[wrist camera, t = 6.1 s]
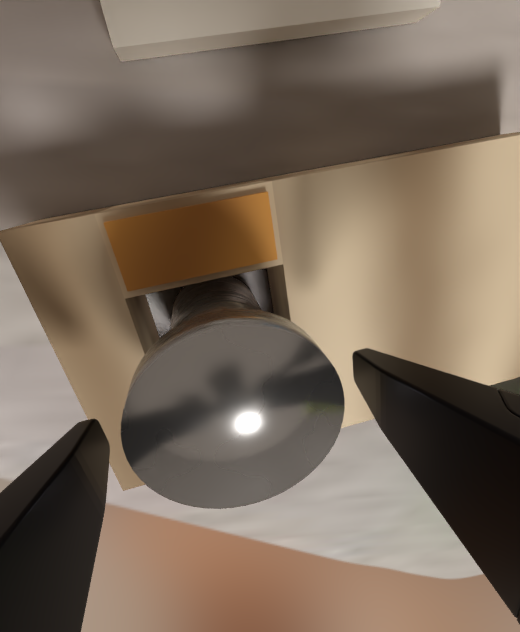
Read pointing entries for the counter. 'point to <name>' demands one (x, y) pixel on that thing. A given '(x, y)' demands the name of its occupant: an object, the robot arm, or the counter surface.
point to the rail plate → (296, 268)
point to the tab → (243, 22)
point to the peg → (229, 402)
